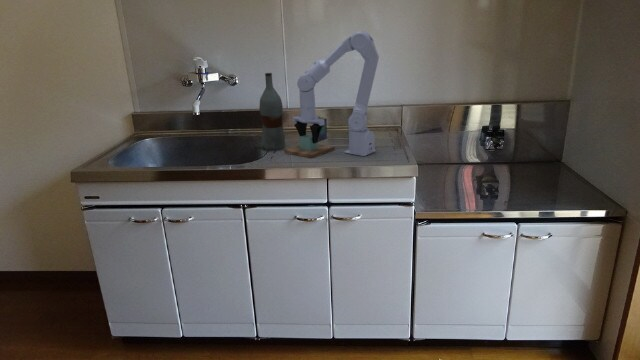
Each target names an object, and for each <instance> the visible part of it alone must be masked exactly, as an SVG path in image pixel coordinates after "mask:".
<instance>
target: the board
mask: <svg viewBox="0 0 640 360" xmlns="http://www.w3.org/2000/svg"><path fill="white" fill-rule="evenodd" d="M335 147H336V146H332V145H326V144H320V143H318V148H317V149H314V150H311V151H307V150H302V149H300V144H299V145H296V146H293V147H289V148H287V149H285V150H284V154H287V155H288V154H289V155H293V156H298V157H304V158H308V159H314V158H317V157H319V156H322V155H324V154H327V153H331V152H333V151H335V149H336V148H335Z"/></svg>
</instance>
